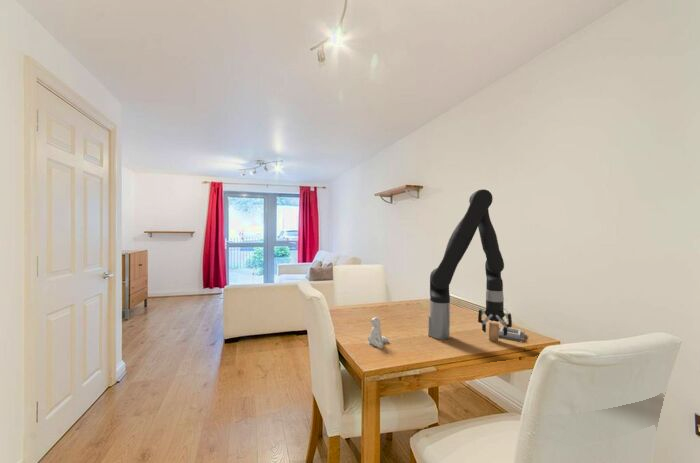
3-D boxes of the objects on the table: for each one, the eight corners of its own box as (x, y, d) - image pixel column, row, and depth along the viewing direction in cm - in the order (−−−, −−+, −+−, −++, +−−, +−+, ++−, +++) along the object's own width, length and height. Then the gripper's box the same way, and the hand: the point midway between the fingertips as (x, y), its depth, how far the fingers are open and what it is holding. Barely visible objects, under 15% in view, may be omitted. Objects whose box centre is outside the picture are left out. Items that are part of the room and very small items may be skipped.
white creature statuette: (381, 349, 127) (381, 321, 127) (363, 345, 132) (364, 318, 132) (389, 342, 136) (389, 316, 136) (372, 338, 140) (372, 313, 140)
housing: (495, 336, 144) (495, 331, 144) (498, 330, 154) (498, 324, 154) (523, 342, 138) (523, 336, 138) (524, 334, 148) (524, 329, 148)
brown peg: (488, 341, 138) (488, 324, 138) (489, 338, 142) (490, 322, 142) (497, 343, 136) (498, 325, 136) (498, 340, 140) (499, 323, 140)
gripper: (477, 299, 140) (477, 333, 140) (511, 303, 132) (511, 339, 132) (479, 296, 146) (479, 328, 146) (512, 299, 138) (512, 334, 138)
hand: (494, 333), depth 139 cm, fingers open, 8 cm apart
